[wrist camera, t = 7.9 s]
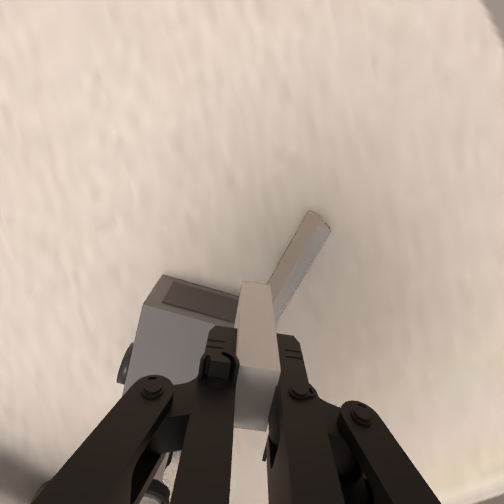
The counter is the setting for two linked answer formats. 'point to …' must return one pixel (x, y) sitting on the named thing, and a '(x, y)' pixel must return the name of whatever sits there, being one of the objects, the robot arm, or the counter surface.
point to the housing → (175, 331)
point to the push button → (158, 485)
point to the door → (297, 260)
